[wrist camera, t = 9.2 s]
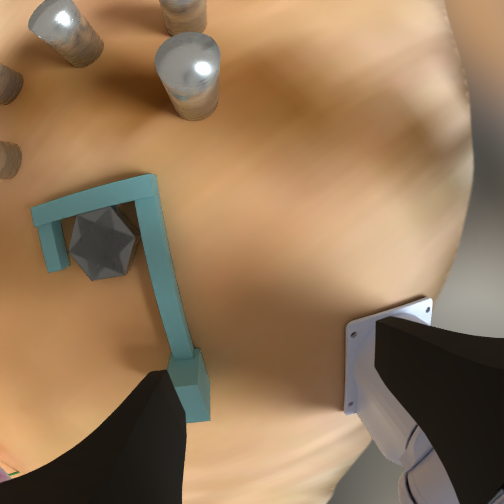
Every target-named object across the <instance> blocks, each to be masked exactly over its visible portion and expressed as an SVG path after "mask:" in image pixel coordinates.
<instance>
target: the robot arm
mask: <svg viewBox="0 0 504 504" xmlns="http://www.w3.org/2000/svg"><path fill="white" fill-rule="evenodd" d="M432 303H433V301H432V299H431V298H429V297H425V298H422V299H419V300H417V301H414V302H411V303H408V304H405V305H402V306H399V307H396V308H393V309H390V310H386V311H383V312H380V313H377V314H373V315H370V316H367V317H363V318H360V319H356V320H353V321H350V322H349V323H348V324H347V326H346V368H345V397H344V413H345V414H346V415H351V414H354V413H357V415H358V416H359V418H360V419H361V421H362V422H363V424H364V426H365V427H366V429H367V430H368V432H369V433H370V435H371V437H372V438H373V440H374V441H375V443H376V444H377V446H378V447H379V449H380V451H381V452H382V454H383V455H384V456H385V457H386V458H387V459H388V460H390V461H391V462H393V463H395V464H398V465H401V466H403V468H404V469H405V471H404V472H403V473H402V474H401V476H400V478H399V482H398V492H399V500H400V503H401V504H504V338H491V337H482V336H473V335H468V334H463V333H458V332H452V331H448V330H444V329H440V328H436V327H432V326H430V321H431V313H432ZM426 309H427V310H426ZM353 332H355V333H354V335H352V336H351V334H352V333H353ZM350 402H351V403H350ZM186 438H187V434H186V412H185V410H184V408H183V406H182V404H181V401H180V399H179V397H178V395H177V392H176V390H175V388H174V385H173V383H172V380H171V378H170V375H169V373H168V371H167V370H160V371H152V372H149V373H148V374H147V375H146V377H145V378H144V379H143V380H142V381H141V382H140V383H139V384H138V385H137V387H136V388H135V389H134V390H133V391H132V392H131V393H130V395H129V396H128V397H127V398H126V399H125V400H124V401H123V402H122V403H121V405H120V406H119V407H118V408H117V409H116V410H115V411H114V412H113V413H112V414H111V415H110V416H109V417H108V418H107V419H106V420H105V421H104V422H103V423H102V424H101V425H100V426H99V427H98V428H97V429H96V430H94V431H93V432H92V433H91V434H90V435H89V436H88V437H86V438H85V439H84V440H82V441H81V442H80V443H79V444H77V445H76V446H75V447H73V448H72V449H70V450H69V451H67V452H66V453H64V454H63V455H61V456H59V457H58V458H56V459H55V460H53V461H51V462H50V463H48V464H46V465H44V466H42V467H40V468H38V469H36V470H34V471H32V472H29V473H27V474H25V475H22V476H20V477H17V478H14V479H10V480H7V481H4V482H0V504H182V483H183V471H184V461H185V450H186Z"/></svg>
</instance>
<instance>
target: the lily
mask: <svg viewBox="0 0 504 504" xmlns="http://www.w3.org/2000/svg"><path fill="white" fill-rule="evenodd" d="M17 473H19V471H17V472H14V473H11V474H7V473H6V472H5V471H4V470H3V469H2V468H1V467H0V482H4V481H7V480H10V479H11V477H10V476H11V475H14V474H17Z"/></svg>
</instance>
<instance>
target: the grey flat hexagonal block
mask: <svg viewBox="0 0 504 504" xmlns="http://www.w3.org/2000/svg"><path fill="white" fill-rule="evenodd" d="M139 237H140V233H139V232H138V231H137V230H136V228H135V227H134V226H133V225H132V224H131V222H130V221H129V220H128V219H127V217H126V216H125V215H124V214H123V213H122V211H121V210H120V209H119V208H118V206H117V205H116V206H110V207H106V208H102V209H98V210H94V211H90V212H86V213H82V214H79V215H77V216H76V220H75V224H74V228H73V233H72V237H71V242H70V247H69V253H70V255H71V256H72V257H73V258H74V260H75V261H76V262H77V263H78V265H79V266H80V267H81V268H82V270H83V271H84V272H85V273H86V275H87V276H88V277H89V278H90V279H91V281H94V280H100V279H105V278H111V277H117V276H122V275H126V274H127V273H128V272H129V271H130V269H131V265H132V262H133V258H134V255H135V251H136V248H137V244H138V241H139Z"/></svg>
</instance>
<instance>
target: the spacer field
mask: <svg viewBox="0 0 504 504" xmlns="http://www.w3.org/2000/svg"><path fill="white" fill-rule="evenodd" d="M159 2H160V5H161V9H162V13H163V16H164V20H165V24H166V27H167V31H168V33H169V34H170V35H171V36H172V37H171V38H169V39H167V40H166V41H165V42H164V43H163V44H162V45H161V46H160V47H159V49H158V51H157V53H156V55H155V68H156V70H157V73H158V75H159V77H160V79H161V81H162V83H163V85H164V87H165V89H166V91H167V93H168V96H169V98H170V100H171V102H172V104H173V106H174V108H175V110H176V112H177V113H178V115H179V116H181V117H182V118H184V119H186V120H189V121H199V120H203V119H205V118H207V117H209V116H210V115H211V114H212V113H213V112H214V111H215V109H216V107H217V104H218V88H219V69H220V49H219V47H218V45H217V43H216V42H215V41H214V40H213V39H212V38H211V37H209V36H208V35H205V34H203V33H202V32H203V31H204V29H205V28H206V25H207V0H159ZM28 27H29V29H30V30H31V31H32V32H33V33H34V34H36V35H37V36H38V37H39V38H41V39H42V40H43V41H44V42H45V43H47V44H48V45H49V46H50V47H51V48H53V49H54V50H55V51H56V52H57V53H59V54H60V55H61V56H62V57H63V58H64V59H66V60H67V61H68V62H69V63H70V64H72V65H73V66H74V67H77V68H82V67H86V66H88V65H90V64H92V63H93V62H94V61H95V60H96V59H97V58H98V57H99V56H100V54H101V53H102V50H103V46H104V44H103V41H102V39H101V38H100V37H99V35H98V34H97V33H96V31H95V30H94V29H93V27H92V26H91V25H90V23H89V22H88V21H87V19H86V18H85V17H84V16H83V14H82V13H81V12H80V10H79V9H78V8H77V6H76V5H75V4H74V2H73V1H72V0H45V1H44V2H43V3H41V4H40V5H39V6H38V7H37V9H36V10H35V11H34V12H33V14H32V15H31V17H30V19H29V23H28ZM22 85H23V77H22V75H21V74H20V73H18V72H16V71H14V70H12V69H10V68H9V67H7V66H5V65H3V64H1V63H0V103H1V104H4V105H7V104H9V103H11V102H12V101H13V100H14V99H15V98H16V97H17V96H18V94H19V92H20V90H21V88H22ZM20 164H21V150H20V148H19V146H18V145H17V144H14V143H9V142H3V141H0V180H2V179H11V178H13V177H14V176H15V175H16V173H17V172H18V170H19V168H20Z"/></svg>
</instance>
